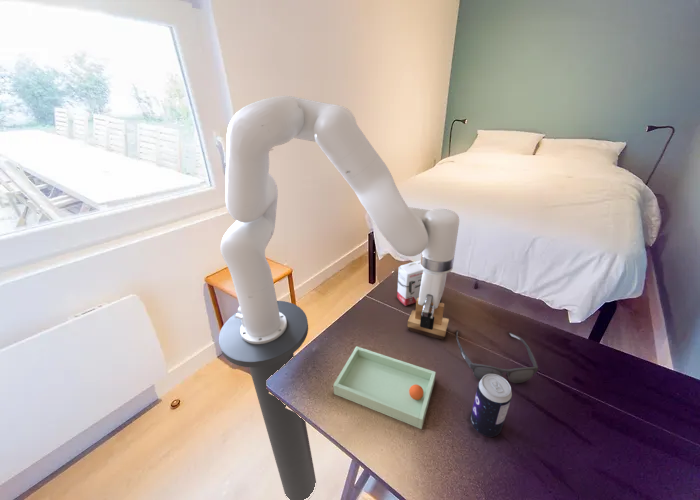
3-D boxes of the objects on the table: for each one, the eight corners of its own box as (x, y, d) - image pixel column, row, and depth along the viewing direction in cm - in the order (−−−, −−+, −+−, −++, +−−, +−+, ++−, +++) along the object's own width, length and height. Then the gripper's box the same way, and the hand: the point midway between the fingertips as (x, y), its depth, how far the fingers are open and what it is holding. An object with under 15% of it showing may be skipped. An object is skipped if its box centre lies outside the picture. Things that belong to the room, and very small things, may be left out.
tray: (334, 394, 69) (333, 384, 68) (356, 354, 79) (356, 346, 78) (421, 429, 62) (422, 419, 60) (434, 381, 71) (436, 371, 70)
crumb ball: (408, 390, 65) (423, 396, 64) (411, 379, 68) (425, 384, 67) (406, 399, 67) (420, 405, 66) (410, 388, 69) (423, 393, 68)
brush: (407, 330, 86) (408, 303, 81) (411, 319, 90) (413, 292, 85) (444, 341, 82) (448, 312, 77) (447, 328, 86) (451, 301, 81)
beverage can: (490, 409, 65) (501, 369, 59) (506, 436, 60) (520, 395, 54) (464, 414, 64) (473, 374, 58) (479, 442, 59) (490, 401, 53)
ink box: (405, 306, 95) (407, 274, 89) (396, 298, 99) (397, 266, 93) (428, 298, 98) (432, 266, 92) (419, 290, 101) (422, 259, 96)
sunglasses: (464, 384, 70) (467, 366, 68) (450, 336, 86) (452, 321, 84) (542, 388, 68) (547, 371, 66) (514, 339, 84) (517, 323, 82)
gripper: (429, 242, 83) (424, 294, 91) (411, 276, 69) (407, 333, 78) (458, 247, 80) (450, 300, 88) (446, 283, 66) (438, 342, 75)
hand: (430, 315), depth 83 cm, fingers open, 9 cm apart
